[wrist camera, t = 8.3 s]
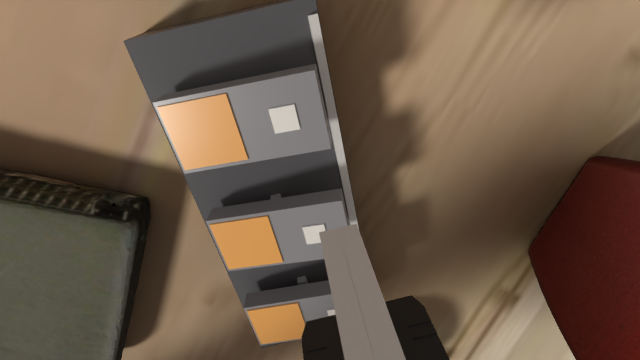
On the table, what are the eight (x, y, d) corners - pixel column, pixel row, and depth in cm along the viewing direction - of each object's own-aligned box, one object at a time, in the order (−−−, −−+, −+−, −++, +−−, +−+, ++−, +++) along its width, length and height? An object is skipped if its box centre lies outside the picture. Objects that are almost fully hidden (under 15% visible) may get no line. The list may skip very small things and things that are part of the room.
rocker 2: (352, 241, 29) (353, 256, 27) (233, 257, 30) (227, 272, 29) (341, 188, 26) (341, 201, 25) (212, 208, 28) (205, 222, 26)
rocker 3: (367, 314, 33) (370, 330, 32) (262, 330, 34) (260, 346, 33) (359, 275, 31) (361, 290, 29) (246, 293, 32) (243, 309, 30)
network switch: (156, 167, 31) (138, 197, 26) (151, 351, 41) (138, 395, 37) (-196, 121, 26) (-290, 149, 21) (-101, 344, 36) (-151, 394, 32)
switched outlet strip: (366, 289, 40) (378, 324, 36) (261, 316, 40) (261, 354, 36) (308, -7, 26) (316, -5, 22) (142, 33, 26) (119, 42, 21)
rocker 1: (331, 138, 24) (331, 149, 23) (192, 162, 26) (183, 174, 24) (316, 63, 22) (314, 70, 20) (163, 94, 23) (151, 103, 22)
